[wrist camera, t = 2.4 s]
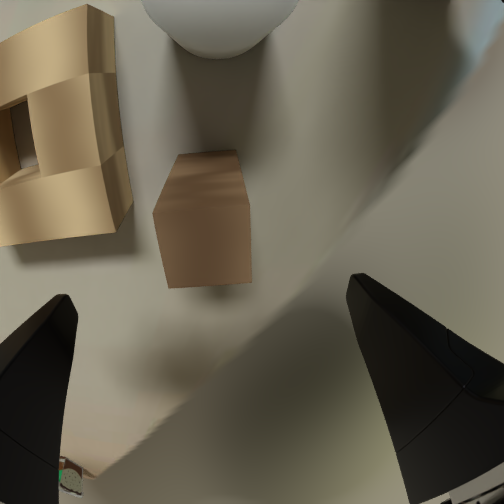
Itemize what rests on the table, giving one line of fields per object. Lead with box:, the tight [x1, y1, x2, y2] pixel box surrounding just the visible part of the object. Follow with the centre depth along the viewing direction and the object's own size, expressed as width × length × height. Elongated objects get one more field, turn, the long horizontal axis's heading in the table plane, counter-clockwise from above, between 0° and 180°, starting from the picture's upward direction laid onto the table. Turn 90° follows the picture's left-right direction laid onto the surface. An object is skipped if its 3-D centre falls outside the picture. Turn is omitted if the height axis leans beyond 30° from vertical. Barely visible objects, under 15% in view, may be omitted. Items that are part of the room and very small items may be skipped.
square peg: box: [152, 150, 252, 288], centre depth 14 cm, size 3×3×8 cm
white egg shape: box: [141, 0, 299, 59], centre depth 9 cm, size 6×6×7 cm
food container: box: [59, 456, 83, 498], centre depth 47 cm, size 12×6×10 cm, turn 4°
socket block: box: [0, 4, 133, 247], centre depth 12 cm, size 12×12×4 cm
